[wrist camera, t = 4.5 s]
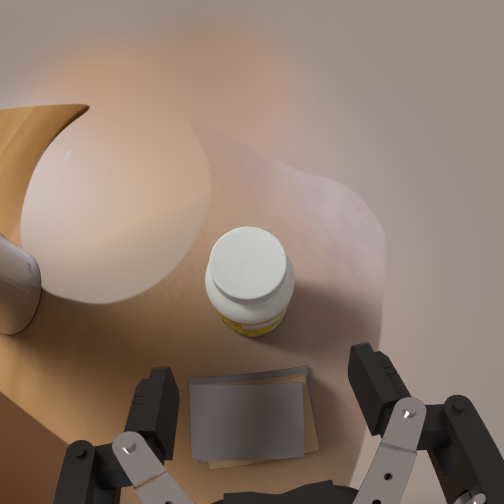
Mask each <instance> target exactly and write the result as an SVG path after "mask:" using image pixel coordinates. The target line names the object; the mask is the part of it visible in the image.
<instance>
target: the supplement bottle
mask: <svg viewBox="0 0 504 504" xmlns="http://www.w3.org/2000/svg"><path fill="white" fill-rule="evenodd" d="M294 284H295V276H294V270H293V267H292V264H291V262H290V260H289V258H288V257H287V255H286V253H285V250H284V248H283V246H282V244H281V243H280V241H279V240H278V239H277V238H276V237H275V236H274V235H272V234H271V233H269V232H268V231H266V230H263V229H261V228H256V227H240V228H237V229H234V230H231V231H229V232H228V233H226V234H224V235H223V236H222V237H221V238H220V239H219V240H218V241H217V242H216V243H215V245H214V247H213V249H212V251H211V254H210V259H209V264H208V266H207V270H206V275H205V286H206V291H207V294H208V297H209V299H210V301H211V303H212V305H213V306H214V308H215V309H216V311H217V312H218V314H219V315H220V317H221V318H222V320H223V322H224V323H225V324H226V325H227V326H228V327H229V328H230V329H232V330H233V331H235V332H236V333H238V334H240V335H243V336H248V337H256V336H261V335H264V334H267V333H269V332H270V331H272V330H273V329H275V328H276V327H277V326H278V325H279V323H280V322H281V320H282V319H283V317H284V315H285V313H286V310H287V307H288V305H289V302H290V300H291V297H292V294H293V290H294Z"/></svg>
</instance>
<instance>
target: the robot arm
mask: <svg viewBox="0 0 504 504" xmlns="http://www.w3.org/2000/svg"><path fill="white" fill-rule="evenodd" d="M40 294H41V275H40V270H39V266H38V264H37V262H36V260H35V259H34V258H33V257H32V256H31V255H30V254H29V253H27V252H26V251H25V250H23V249H22V248H20V247H19V246H17V245H16V244H15V243H13V242H12V241H10V240H9V239H8V238H6V237H5V236H4V235H2V234H1V233H0V333H3V334H8V335H12V334H16V333H18V332H20V331H21V330H23V329H24V328H25V327H26V326H27V325H28V324H29V322H30V321H31V319H32V318H33V316H34V314H35V311H36V309H37V306H38V303H39V300H40ZM348 378H349V382H350V384H351V387H352V389H353V391H354V394H355V396H356V398H357V401H358V403H359V406H360V408H361V411H362V413H363V415H364V418H365V420H366V423H367V425H368V428H369V430H370V433H371V435H372V436H375V435H378V434H380V436H381V438H382V440H381V443H380V445H379V448H378V450H377V452H376V455H375V457H374V459H373V462H372V464H371V466H370V468H369V470H368V473H367V475H366V477H365V479H364V481H363V483H362V485H361V487H360V489H359V490H357V489H354V488H351V487H346V486H339V485H333V482H332V480H327V481H323V482H318V483H312V484H307V485H304V486H301V487H299V488H296V489H294V490H291V491H288V492H285V493H283V494H278V495H276V494H265V493H256V492H240V493H224V499H223V500H219V501H216V502H214V503H212V504H399V503H400V500H401V498H402V495H403V493H404V490H405V487H406V485H407V482H408V479H409V476H410V474H411V471H412V468H413V465H414V462H415V459H416V455H417V452H416V450H427V452H428V454H429V457H430V459H431V462H432V464H433V467H434V469H435V471H436V474H437V477H438V480H439V482H440V485H441V487H442V490H443V493H444V496H445V498H446V501H447V504H504V460H503V458H502V456H501V454H500V452H499V450H498V448H497V447H496V445H495V443H494V441H493V439H492V437H491V436H490V434H489V432H488V430H487V428H486V427H485V425H484V423H483V421H482V419H481V418H480V416H479V414H478V412H477V411H476V409H475V407H474V406H473V404H472V402H471V401H470V400H469V399H468V398H467V397H465V396H462V395H453V396H450V397H449V398H448V399H447V400H446V401H445V403H444V404H438V405H424V403H423V402H422V401H420V400H419V399H416V398H412V396H411V395H410V393H409V391H408V390H407V388H406V386H405V385H404V383H403V381H402V380H401V378H400V376H399V374H397V371H396V369H395V368H394V367H393V364H392V363H391V361H390V359H389V358H388V357H387V356H386V355H385V354H383V353H382V352H381V351H378V352H374V351H373V349H372V348H371V346H370V344H369V343H362V344H357V345H352V346H351V349H350V357H349V365H348ZM178 409H179V391H178V388H177V385H176V382H175V380H174V377H173V374H172V371H171V369H170V367H153V368H152V370H151V374H150V377H149V379H142V380H141V382H140V383H139V384H138V385H137V387H136V390H135V393H134V398H133V400H132V405H131V408H130V411H129V415H128V419H127V423H126V426H125V430H124V433H121V434H120V435H118V436H117V437H116V438H115V439H114V441H113V443H110V444H105V445H100V446H93V445H92V444H91V443H90V442H88V441H85V440H78V441H75V442H73V443H72V444H71V445H70V446H69V447H68V448H67V451H66V454H65V457H64V461H63V465H62V469H61V473H60V476H59V480H58V485H57V489H56V493H55V498H54V502H53V504H119V503H120V495H121V487H127V486H132V485H134V490H135V492H136V493H137V495H138V496H139V498H140V499H141V501H142V502H143V504H194V503H193V502H192V500H191V499H190V498H189V497H188V496H187V495H186V493H185V492H184V491H183V490H182V489H181V487H180V486H179V485H178V484H177V483H176V481H175V480H174V479H173V478H172V476H171V475H170V474H169V472H168V471H167V470H166V469H165V468H164V460H172V459H173V450H174V441H175V433H176V425H177V417H178Z"/></svg>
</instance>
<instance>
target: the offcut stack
mask: <svg viewBox="0 0 504 504" xmlns="http://www.w3.org/2000/svg"><path fill="white" fill-rule="evenodd" d="M188 383H189V401H190V431H191V452H192V459H198V461H199V464H201V463H208V465H209V469H216V468H225V467H234V466H241V465H248V464H255V463H261V462H267V461H272V460H277V459H289V458H301V457H304V454H305V453H310V452H315V451H317V450H320V449H319V444H318V439H317V433H316V428H315V423H314V417H313V409H312V401H311V393H310V386H309V378H308V371H307V366H303V367H296V368H290V369H283V370H275V371H268V372H260V373H251V374H242V375H232V376H221V377H208V378H193V379H188Z"/></svg>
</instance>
